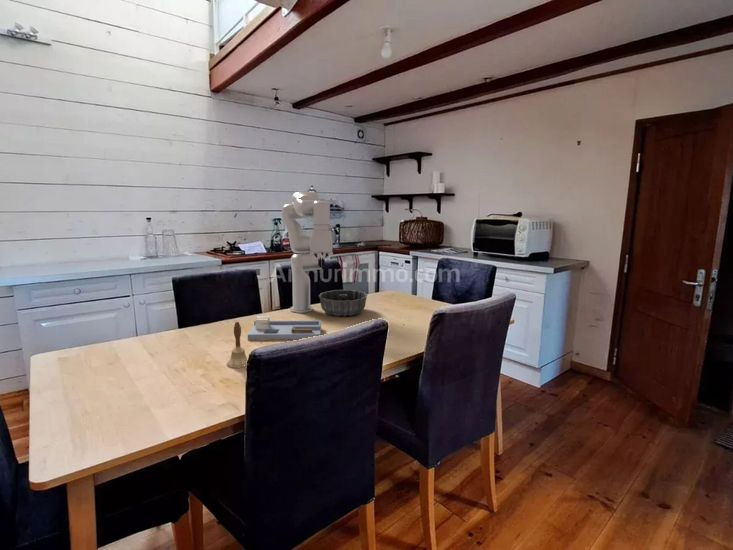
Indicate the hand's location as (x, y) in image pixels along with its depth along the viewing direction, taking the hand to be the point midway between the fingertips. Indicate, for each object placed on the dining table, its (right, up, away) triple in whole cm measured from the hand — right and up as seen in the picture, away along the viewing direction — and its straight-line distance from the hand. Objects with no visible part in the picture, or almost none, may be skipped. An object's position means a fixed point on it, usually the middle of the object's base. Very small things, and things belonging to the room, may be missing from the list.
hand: (321, 267), depth 183 cm
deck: (-15, -30, -6) cm, 35 cm away
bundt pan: (+8, -24, +31) cm, 40 cm away
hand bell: (-26, -37, -39) cm, 60 cm away
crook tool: (-7, -29, -11) cm, 32 cm away
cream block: (-26, -28, -5) cm, 38 cm away
